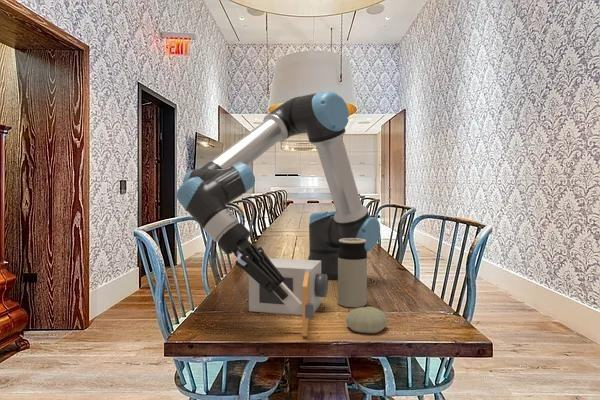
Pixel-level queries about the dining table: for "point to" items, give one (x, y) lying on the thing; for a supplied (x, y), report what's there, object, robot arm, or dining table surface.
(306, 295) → the hatch
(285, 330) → the dining table surface
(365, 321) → the sea urchin shell
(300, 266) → the case
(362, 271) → the travel mug
